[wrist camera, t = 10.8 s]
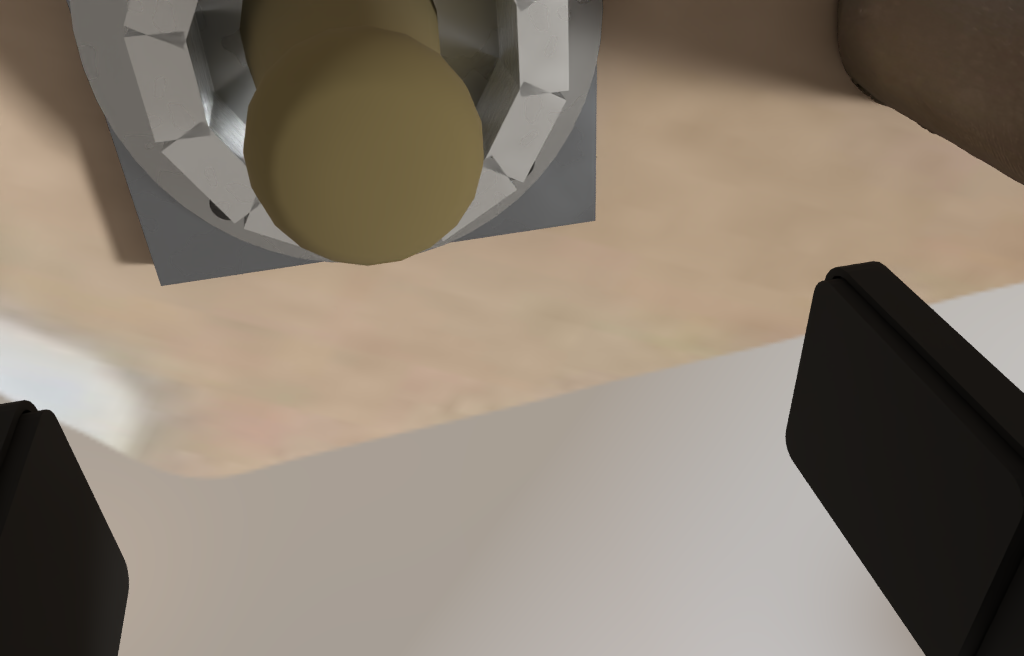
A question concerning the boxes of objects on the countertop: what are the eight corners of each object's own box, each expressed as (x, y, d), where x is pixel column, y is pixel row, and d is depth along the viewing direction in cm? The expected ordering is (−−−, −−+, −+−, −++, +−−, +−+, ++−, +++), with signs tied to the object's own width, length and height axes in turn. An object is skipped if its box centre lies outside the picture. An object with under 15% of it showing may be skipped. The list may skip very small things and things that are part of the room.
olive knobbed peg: (446, -63, 26) (534, 40, 17) (433, 132, 29) (502, 305, 20) (233, -81, 24) (205, 22, 15) (245, 127, 27) (228, 311, 18)
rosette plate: (-6, -263, 22) (-69, -263, 18) (584, -295, 25) (645, -302, 21) (165, 265, 32) (148, 343, 27) (584, 203, 34) (625, 267, 30)
